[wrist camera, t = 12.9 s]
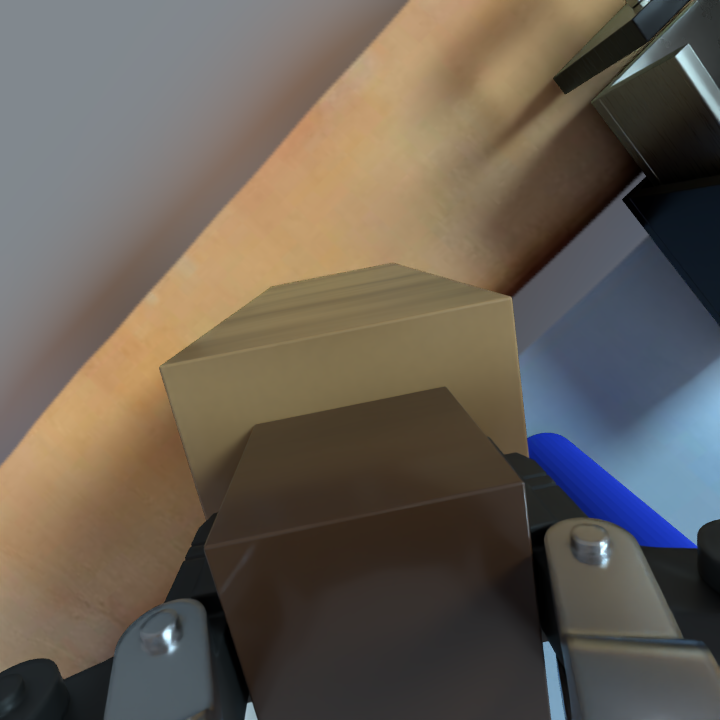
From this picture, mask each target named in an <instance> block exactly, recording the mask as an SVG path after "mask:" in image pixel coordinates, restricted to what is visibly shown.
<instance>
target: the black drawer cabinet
mask: <svg viewBox="0 0 720 720" xmlns="http://www.w3.org/2000/svg"><path fill="white" fill-rule="evenodd" d="M622 200H623V202H624V203H625V204H626V205H627V207H628V208H629V209H630V211H631V212H632V213H633V215H634V216H635V217H636V218H637V220H638V221H639V222H640V224H641V225H642V226H643V227H644V229H645V230H646V231H647V233H648V234H649V235H650V236H651V238H652V239H653V240H654V242H655V243H656V244H657V246H658V247H659V248H660V249H661V251H662V252H663V253H664V255H665V256H666V257H667V258H668V260H669V261H670V262H671V264H672V265H673V266H674V267H675V269H676V270H677V271H678V273H679V274H680V275H681V277H682V278H683V279H684V280H685V282H686V283H687V284H688V286H689V287H690V288H691V289H692V291H693V292H694V293H695V295H696V296H697V297H698V298H699V300H700V301H701V302H702V304H703V305H704V306H705V307H706V309H707V310H708V311H709V313H710V314H711V315H712V317H713V318H714V319H715V320H716V322H717V323H718V324H719V326H720V175H716V176H710V177H705V178H699V179H694V180H688V181H683V182H677V183H671V184H666V185H660V186H655V187H654V186H653V184H652V183H651V182H650V180H649V179H648V178H647V176H646V177H645V178H644V179H643V180H642V181H641V182H640V183H639V184H638V185H637V186H636V187H635V188H634V189H633V190H631V192H629V193H628V194H627V195H626V196H625V197H624V198H623V199H622Z"/></svg>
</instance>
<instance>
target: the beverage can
mask: <svg viewBox="0 0 720 720" xmlns="http://www.w3.org/2000/svg"><path fill="white" fill-rule="evenodd" d="M527 442H528V452H529V458H530V459H533V460H535V461H536V462H537V463H538V464H539V465H540V467H541V468H542V469H543V470H544V471H545V472H546V474H547V475H549V476H550V477H551V478H552V479H553V480H554V481H555V482H556V485H558V486H559V487H560V488H561V489H562V490H563V491H564V492H565V493H566V494H567V495H568V496H569V497H570V498H571V499H572V500H573V501H574V502H575V504H576V505H577V506H578V507H579V508H580V509H581V510H582V511H583V512H584V513H585V514H586V515H587V516H588V517H589V518H596V519H601V520H605V521H608V522H611V523H614V524H616V525H619V526H620V527H622V528H624V529H626V530H627V531H628V532H630V533H631V534H632V535H633V536H634V537H635V538H636V540H637V542H638V543H639V545H641V546H648V547H667V548H697V546H696V545H695V544H694V543H693V542H691V541H690V540H689V539H688V538H686V537H685V536H684V535H683V534H682V533H680V532H679V531H678V530H677V529H676V528H674V527H673V526H672V525H671V524H669V523H668V522H667V521H666V520H665V519H663V518H662V517H661V516H660V515H659V514H657V513H656V512H655V511H654V510H652V509H651V508H650V507H649V506H648V505H646V504H645V503H644V502H643V501H642V500H640V499H639V498H638V497H637V496H636V495H634V494H633V493H632V492H631V491H629V490H628V489H627V488H626V487H625V486H623V485H622V484H621V483H620V482H619V481H617V480H616V479H615V478H614V477H612V476H611V475H610V474H609V473H608V472H606V471H605V470H604V469H603V468H602V467H600V466H599V465H598V464H597V463H595V462H594V461H593V460H592V459H591V458H589V457H588V456H587V455H586V454H585V453H583V452H582V451H581V450H580V449H579V448H577V447H576V446H575V445H574V444H572V443H571V442H570V441H569V440H567V439H566V438H565V437H563V436H561V435H558V434H554V433H540V434H536V435H533V436H531V437H529V438H527Z"/></svg>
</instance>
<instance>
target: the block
mask: <svg viewBox="0 0 720 720" xmlns="http://www.w3.org/2000/svg"><path fill="white" fill-rule="evenodd" d="M204 552H205V556H206V559H207V562H208V565H209V568H210V571H211V574H212V578H213V581H214V584H215V587H216V590H217V593H218V597H219V600H220V603H221V606H222V609H223V612H224V615H225V619H226V622H227V625H228V628H229V631H230V634H231V638H232V641H233V644H234V647H235V650H236V653H237V656H238V660H239V663H240V666H241V669H242V672H243V675H244V679H245V682H246V685H247V688H248V691H249V694H250V697H251V701H252V704H253V707H254V710H255V713H256V716H257V720H551V714H550V705H549V696H548V687H547V678H546V669H545V660H544V651H543V642H542V633H541V624H540V615H539V606H538V597H537V588H536V579H535V570H534V561H533V553H532V544H531V535H530V526H529V517H528V508H527V499H526V490H525V483H524V481H523V480H522V479H521V478H520V476H519V475H518V474H517V473H516V471H515V470H514V469H513V468H512V467H511V465H510V464H509V463H508V462H507V460H506V459H505V458H504V457H503V455H502V454H501V453H500V452H499V451H498V449H497V448H496V447H495V446H494V444H493V443H492V442H491V441H490V440H489V438H488V437H487V436H486V435H485V433H484V432H483V431H482V430H481V429H480V427H479V426H478V425H477V424H476V422H475V421H474V420H473V419H472V418H471V416H470V415H469V414H468V413H467V411H466V410H465V409H464V408H463V406H462V405H461V404H460V403H459V402H458V400H457V399H456V398H455V397H454V395H453V394H452V393H451V392H450V391H449V389H448V388H447V387H445V386H444V387H439V388H434V389H429V390H424V391H419V392H414V393H410V394H405V395H400V396H395V397H390V398H385V399H380V400H375V401H370V402H365V403H360V404H355V405H350V406H345V407H340V408H335V409H330V410H325V411H320V412H315V413H310V414H305V415H300V416H295V417H290V418H285V419H280V420H275V421H270V422H265V423H260V424H256V425H255V426H254V428H253V430H252V433H251V435H250V437H249V440H248V442H247V445H246V447H245V449H244V452H243V454H242V457H241V459H240V461H239V464H238V466H237V469H236V471H235V473H234V476H233V478H232V480H231V483H230V485H229V488H228V490H227V492H226V495H225V497H224V500H223V502H222V504H221V507H220V509H219V512H218V514H217V516H216V519H215V521H214V523H213V526H212V528H211V531H210V533H209V535H208V538H207V540H206V543H205V545H204Z"/></svg>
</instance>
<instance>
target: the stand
mask: <svg viewBox="0 0 720 720" xmlns="http://www.w3.org/2000/svg"><path fill="white" fill-rule="evenodd" d="M159 370H160V373H161V376H162V379H163V382H164V386H165V389H166V392H167V395H168V399H169V402H170V405H171V408H172V412H173V415H174V418H175V421H176V425H177V428H178V431H179V434H180V437H181V441H182V444H183V447H184V450H185V454H186V457H187V460H188V463H189V467H190V470H191V473H192V476H193V479H194V483H195V486H196V489H197V492H198V496H199V499H200V502H201V505H202V509H203V512H204V515H205V518H206V521H207V520H208V519H209V518H210V517H211V516H212V515H213V514H214V513H217V512H219V509H220V507H221V504H222V502H223V500H224V497H225V495H226V492H227V490H228V488H229V485H230V483H231V480H232V478H233V476H234V473H235V471H236V469H237V466H238V464H239V461H240V459H241V457H242V454H243V452H244V449H245V447H246V445H247V442H248V440H249V437H250V435H251V433H252V430H253V428H254V426H255V425H256V424H260V423H265V422H270V421H275V420H280V419H285V418H290V417H295V416H300V415H305V414H310V413H315V412H320V411H325V410H330V409H335V408H340V407H345V406H350V405H355V404H360V403H365V402H370V401H375V400H380V399H385V398H390V397H395V396H400V395H405V394H410V393H414V392H419V391H424V390H429V389H434V388H439V387H444V386H445V387H447V388H448V389H449V391H450V392H451V393H452V394H453V395H454V397H455V398H456V399H457V400H458V402H459V403H460V404H461V405H462V406H463V408H464V409H465V410H466V411H467V413H468V414H469V415H470V416H471V418H472V419H473V420H474V421H475V422H476V424H477V425H478V426H479V427H480V429H481V430H482V431H483V432H484V433H485V435H486V436H487V437H490V438H491V439H492V441H493V442H494V443H495V444H496V445H497V447H498V448H499V449H500V450H501V451H502V453H503V454H504V455H505V454H510V453H515V452H517V453H519V454H521V455H524V456H526V457H528V458H529V452H528V442H527V433H526V424H525V414H524V405H523V396H522V386H521V377H520V367H519V358H518V350H517V340H516V331H515V321H514V312H513V302H512V298H511V297H510V296H507V295H503V294H500V293H496V292H493V291H489V290H486V289H482V288H479V287H475V286H472V285H468V284H465V283H461V282H458V281H455V280H451V279H448V278H444V277H441V276H437V275H434V274H430V273H427V272H423V271H420V270H416V269H413V268H409V267H406V266H402V265H399V264H396V263H389V264H384V265H379V266H374V267H369V268H364V269H359V270H353V271H348V272H343V273H338V274H333V275H328V276H323V277H318V278H313V279H308V280H303V281H297V282H292V283H287V284H282V285H277V286H272V287H270V288H269V289H267V290H266V291H265V292H263V293H262V294H260V295H259V296H258V297H256V298H255V299H253V300H252V301H251V302H249V303H248V304H246V305H245V306H244V307H242V308H241V309H239V310H238V311H237V312H235V313H234V314H232V315H231V316H230V317H228V318H227V319H225V320H224V321H223V322H221V323H220V324H218V325H217V326H216V327H214V328H213V329H211V330H210V331H209V332H207V333H206V334H204V335H203V336H202V337H200V338H199V339H197V340H196V341H195V342H193V343H192V344H190V345H189V346H188V347H186V348H185V349H183V350H182V351H181V352H179V353H178V354H176V355H175V356H174V357H172V358H171V359H169V360H168V361H167V362H165V363H164V364H162V365H161V366H160V367H159Z"/></svg>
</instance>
